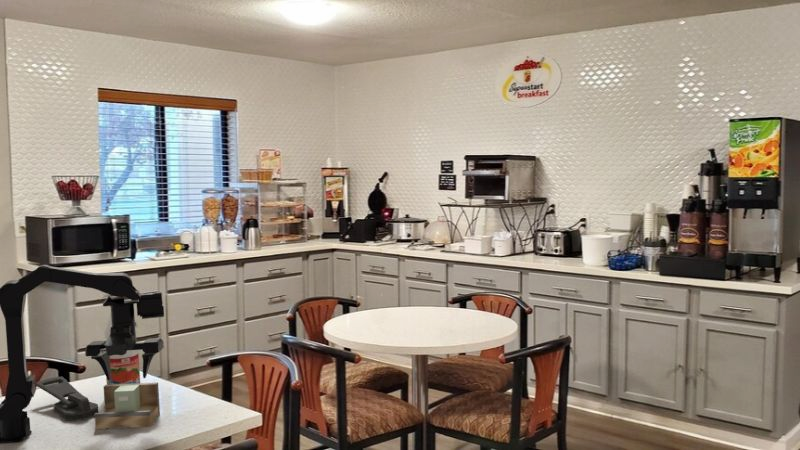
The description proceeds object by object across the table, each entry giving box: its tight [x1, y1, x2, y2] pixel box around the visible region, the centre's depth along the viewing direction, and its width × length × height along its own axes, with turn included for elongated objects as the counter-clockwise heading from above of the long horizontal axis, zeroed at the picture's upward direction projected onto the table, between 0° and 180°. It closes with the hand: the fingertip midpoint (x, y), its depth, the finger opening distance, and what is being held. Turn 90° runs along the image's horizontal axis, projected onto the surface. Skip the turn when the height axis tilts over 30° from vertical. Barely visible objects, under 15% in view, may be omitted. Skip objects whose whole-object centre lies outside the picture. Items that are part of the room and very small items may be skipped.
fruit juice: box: [103, 306, 141, 385], centre depth 212 cm, size 9×9×28 cm
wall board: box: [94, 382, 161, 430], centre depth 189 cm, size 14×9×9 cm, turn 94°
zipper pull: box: [35, 376, 99, 422], centre depth 201 cm, size 9×7×25 cm
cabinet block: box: [114, 385, 141, 412], centre depth 188 cm, size 5×6×6 cm
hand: (127, 378), depth 188 cm, fingers open, 9 cm apart
